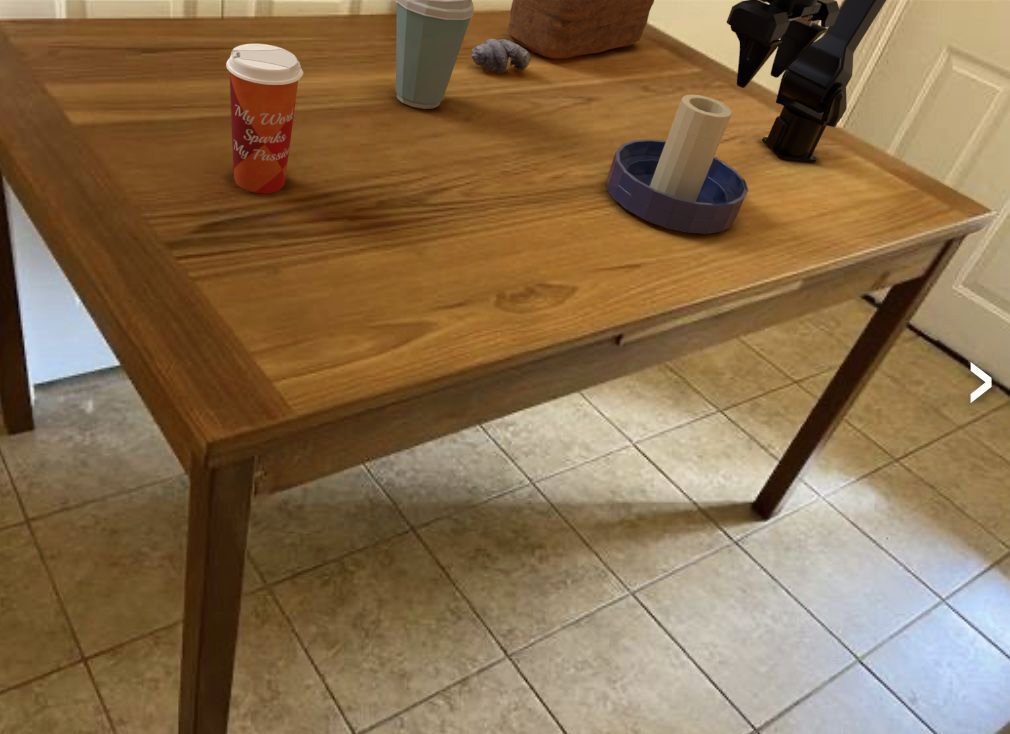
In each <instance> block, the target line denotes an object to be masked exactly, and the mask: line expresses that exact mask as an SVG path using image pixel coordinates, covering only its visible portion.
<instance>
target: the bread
mask: <svg viewBox="0 0 1010 734" xmlns="http://www.w3.org/2000/svg"><path fill="white" fill-rule="evenodd" d="M654 3H655V0H512V2H511V7H510V14H509V24H508V27H507V33H508V35H509V37H510V38H511V39H512V40H513V41H514V42H515V43H516V44H518V45H519V46H521V47H522V48H524V49H526V50H529V51H531V52H533V53H536V54H537V55H541V56H543V57H546V58H549V59H554V60H565V59H570V58H574V57H579V56H582V55H583V56H584V55H589V54H599V53H602V52H603V53H604V52H606V51H608V50H613V49H617V48H625V47H626V48H627V47H629V46H632V45H633V44H635V43H637V42H638V41H640V40H641V37H642V35H643V33H644V31H645V28H646V26H647V23H648V20H649V15H650V11H651V9H652V6H653V5H654Z"/></svg>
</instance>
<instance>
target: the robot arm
mask: <svg viewBox="0 0 1010 734" xmlns="http://www.w3.org/2000/svg"><path fill="white" fill-rule="evenodd" d="M886 2H887V0H844V1H843V3H842V5H841V6H840V7H839V2H838V1H837V0H741V1H739V2H738V3H735V4H734V5H732V6H731V8H730V11H729V14H728V17H727V19H726V24H727V25H729V26H730V30H731V31H732V32H733V33H734V34H735V36H736V37H737V39H738V43H739V54H738V65H737V77H736V86H737V87H739V88H741V89H744V88H746V87H747V86H748V85H749V84H750V82H751V81H752V80H753V79H754V78H755V76H756V75H757V74H758V72H760V70H761V69H762V68H763V66H764V65H765V64H766V62H767V61H768V60H769V58H770V57H771V56H772V55H773V54H774V52H775V55H774V58H773V62H772V66H771V70H770V77H773V78H774V79H775V78H779V77H780V76H781V75H782V76H781V79H780V84H779V87H778V91H777V95H776V100H775V103H776V104H778V105H780V106H783V107H782V109H781V111H780V113H779V115H777V116H776V117H775V119H774V122H773V124H772V126H771V129H770V131H769V133H768V136H762V139H761V141H762V142H763V143H764V144H765V145H766V146H767V147H768V148H769V150H771V151H772V152H773V153H774V154H775V155H776V156H777V157H778V158H779V159H781V160H788V161H799V162H810V163H817V161H818V157H816V156H815V154H814V152H815V150H816V148H817V146H818V144H819V142H820V140H821V138H822V136H823V134H824V132H825V129H826V128H827V126H828V127H832V128H835V127H836V126H837V124H838V123H839V122H840V120H841V119H842V118H843V117H844V114H845V113H846V111H847V108H848V106H847V104H848V103H847V86H848V84H849V83H850V81H851V79H852V78H853V71H854V70H853V69H854V54H855V51H856V50H857V48H858V46H859V45H860V43H861V42H862V40H863V39H864V37H865V35H866V34H867V32H868V30H869V29H870V27H871V26H872V24H873V23H874V21H875V19H876V17H877V16H878V14H879V13H880V11H881V10H882V8H883V6H884V5H885V4H886ZM819 23H820V24H819Z"/></svg>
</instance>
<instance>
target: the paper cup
mask: <svg viewBox="0 0 1010 734" xmlns="http://www.w3.org/2000/svg"><path fill="white" fill-rule="evenodd" d="M225 67H226V69H227V71H228V72H229V94H230V123H231V148H232V167H233V168H232V169H233V179H234V182H235V184H236V185H237V186H238V187H240V188H241V189H243V190H245V191H248V192H252V193H256V194H271V193H275V192H278V191H280V190H282V188H284V186H285V181H286V175H287V171H288V161H289V154H290V147H291V140H292V134H293V133H292V132H293V124H294V118H295V117H294V116H295V108H296V101H297V93H298V86H299V80H300V79H302V77H303V76H304V70H303V69H302V65H301V63H300V61H299V60H298V58H297V56H296V55H294V53H292V52H291V51H289V50H286V49H285V48H283V47H280V46H276V45H271V44H265V43H246V44H245V43H244V44H240V45H237V46H235V47H234V48H233V49H232V50H231V53H230V57H229V58H228V59H227V61H226V63H225Z"/></svg>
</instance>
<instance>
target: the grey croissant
mask: <svg viewBox="0 0 1010 734" xmlns="http://www.w3.org/2000/svg"><path fill="white" fill-rule="evenodd" d="M471 52H472V54H471V56H470V57H471V58H472V60H473V63H475V65H478V66H480V67H481V68H482V69H483V70H484V71H486V72H493V71H494V72H495V73H496V74H498V75H503V74H504V73H505V72H506V71H507V68H508V63H509V66H510V67H512V66H513V69H514V70H515V71H518V72H519V71H525V69H527V67H528V66H529V65H530V62H531V59H532V58H531V57H532V56H531V54H530V53H529V51H528V50H527V49H526V48H524V47H523V46H521V45H520V44H519V43H516V42H515V41H514V42H513V41H511V40H509V39H506V38H501V39H495V38H489V39H487V40H485V41H484V42H483V43H481V44H479V45H476V46H475V47H473V48H472V49H471ZM509 58H510V62H509Z"/></svg>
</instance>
